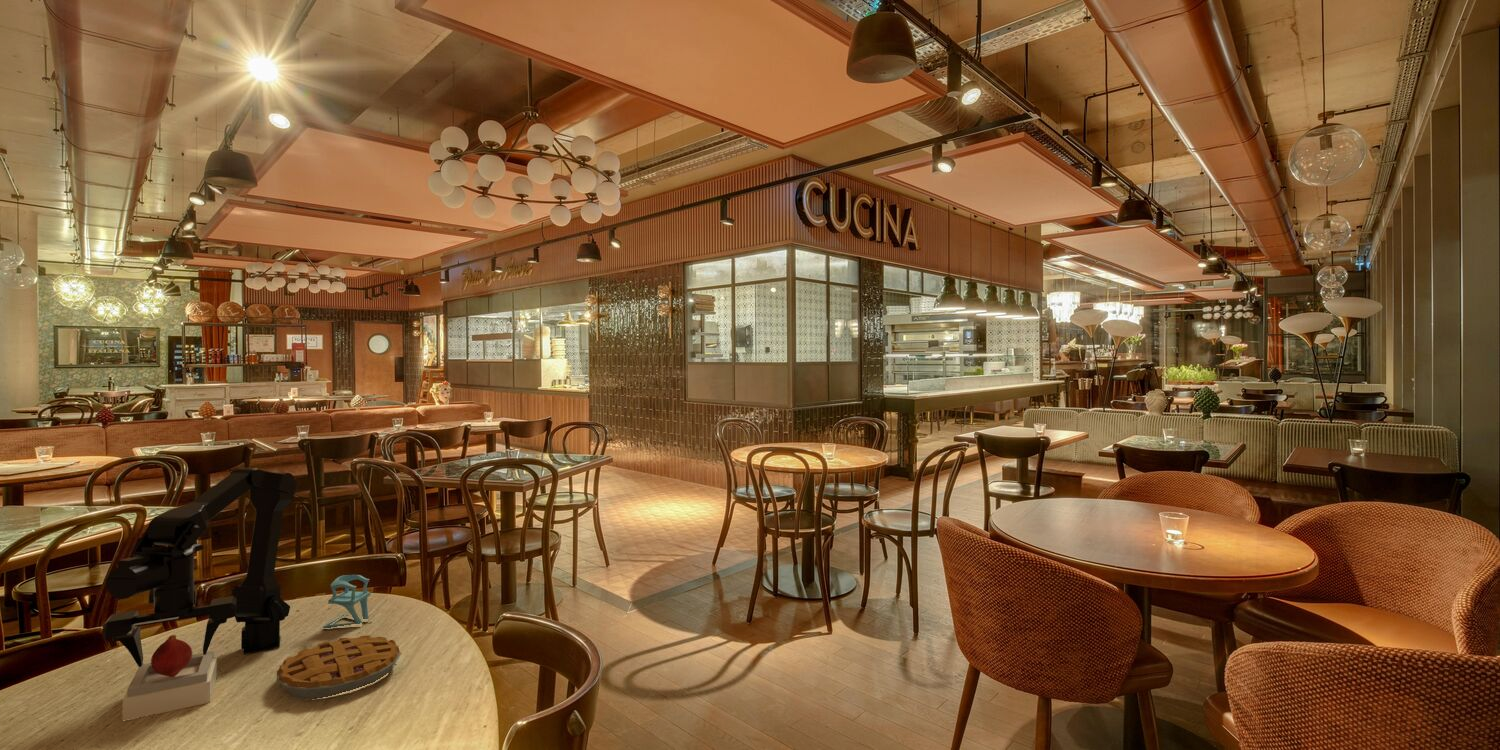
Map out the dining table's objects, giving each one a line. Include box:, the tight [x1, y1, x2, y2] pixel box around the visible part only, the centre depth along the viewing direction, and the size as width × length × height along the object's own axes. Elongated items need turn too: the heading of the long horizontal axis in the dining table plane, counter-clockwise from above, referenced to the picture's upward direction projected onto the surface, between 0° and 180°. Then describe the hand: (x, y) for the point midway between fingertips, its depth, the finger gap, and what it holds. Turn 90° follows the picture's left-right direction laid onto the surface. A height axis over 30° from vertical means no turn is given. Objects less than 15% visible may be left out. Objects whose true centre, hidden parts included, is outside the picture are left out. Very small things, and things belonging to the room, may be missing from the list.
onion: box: [150, 634, 193, 677], centre depth 122 cm, size 6×6×8 cm
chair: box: [322, 574, 371, 629], centre depth 157 cm, size 8×8×12 cm
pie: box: [276, 634, 402, 701], centre depth 132 cm, size 22×22×5 cm
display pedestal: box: [122, 651, 218, 721], centre depth 122 cm, size 12×12×6 cm
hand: (173, 659), depth 122 cm, fingers open, 9 cm apart
